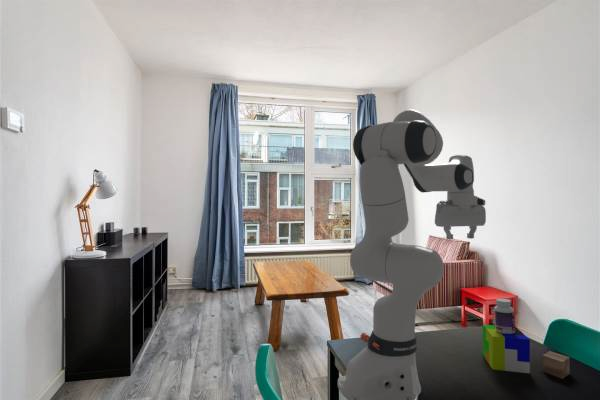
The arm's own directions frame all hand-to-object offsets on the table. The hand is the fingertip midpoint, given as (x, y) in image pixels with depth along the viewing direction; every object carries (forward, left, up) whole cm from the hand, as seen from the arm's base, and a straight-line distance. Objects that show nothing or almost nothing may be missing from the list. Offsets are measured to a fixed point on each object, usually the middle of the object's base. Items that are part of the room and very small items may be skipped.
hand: (460, 238), depth 124 cm
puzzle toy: (+1, -18, -37) cm, 41 cm away
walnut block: (+10, -27, -37) cm, 47 cm away
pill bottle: (+1, -18, -27) cm, 33 cm away
